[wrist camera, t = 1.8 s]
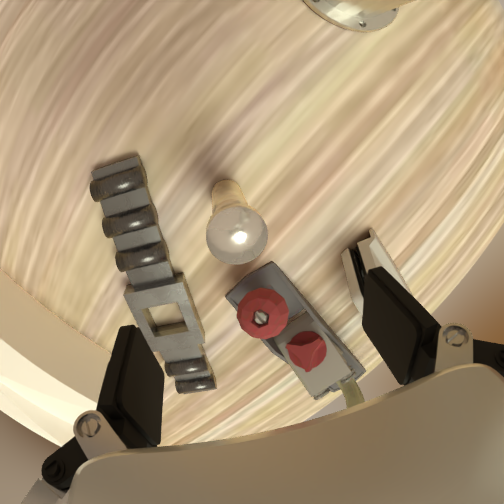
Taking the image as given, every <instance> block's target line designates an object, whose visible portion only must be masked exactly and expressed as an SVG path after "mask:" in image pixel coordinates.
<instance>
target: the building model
mask: <svg viewBox="0 0 504 504" xmlns="http://www.w3.org/2000/svg"><path fill="white" fill-rule="evenodd" d="M111 355H112V354H111V353H110V352H108V351H107V350H105V349H103V348H102V347H100V346H99V345H97V344H96V343H94V342H93V341H91V340H90V339H88V338H87V337H85V336H84V335H82V334H81V333H79V332H78V331H77V330H75V329H74V328H72V327H71V326H69V325H68V324H67V323H65V322H64V321H63V320H61V319H60V318H59V317H57V316H56V315H55V314H53V313H52V312H51V311H49V310H48V309H47V308H46V307H44V306H43V305H42V304H41V303H39V302H38V301H37V300H36V299H34V298H33V297H32V296H31V295H30V294H28V293H27V292H26V291H25V290H24V289H23V288H21V287H20V286H19V285H18V284H17V283H16V282H15V281H13V280H12V279H11V278H10V277H9V276H8V275H7V274H6V273H5V272H4V271H3V270H2V269H1V268H0V410H1V411H3V412H4V413H6V414H7V415H8V416H10V417H11V418H13V419H14V420H16V421H17V422H19V423H21V424H22V425H24V426H25V427H27V428H29V429H30V430H32V431H34V432H35V433H37V434H39V435H40V436H42V437H44V438H46V439H48V440H49V441H51V442H53V443H55V444H57V445H59V446H61V447H62V446H63V445H64V444H65V443H67V442H68V441H69V440H70V439H72V438H73V437H74V436H75V435H74V432H73V425H74V422H75V420H76V419H77V417H78V416H79V415H81V414H82V413H84V412H85V411H89V410H96V407H97V403H98V399H99V395H100V391H101V387H102V383H103V380H104V376H105V372H106V369H107V365H108V362H109V361H110V358H111Z"/></svg>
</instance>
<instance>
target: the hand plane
mask: <svg viewBox="0 0 504 504" xmlns="http://www.w3.org/2000/svg"><path fill="white" fill-rule="evenodd" d="M226 299H227V300H228V301H229V302H230V303H231V304H232V306H233V307H234V308H235V309H236V311H237V319H238V321H239V323H240V326H241V328H242V329H243V330H244V331H245V332H246V333H248V334H249V335H250V336H252V337H255V338H260V339H261V340H262V341H263V343H264V344H265V345H266V346H267V347H268V348H269V349H270V351H271V352H272V353H273V354H275V355H276V356H278V357H279V358H281V359H282V360H284V361H285V362H287V363H288V364H290V366H291V367H292V369H293V370H294V372H295V373H296V375H297V376H298V378H299V379H300V381H301V382H302V384H303V385H304V387H305V388H306V390H307V391H308V392H309V394H310V395H311V397H312V396H313V397H314V399H315V400H318V399H320V398H322V397H324V396H325V395H326V394H328V393H329V391H332V392H336V391H338V390H340V389H341V390H342V392H343V394H344V397H345V399H346V405H347V408H350V407H352V406H355V405H358V404H361V403H363V402H365V401H364V398H363V395H362V393H361V391H360V388H359V387H358V385H357V383H356V380H357V379H358V378H360V377H361V376H362V375H363V374H364V373H365V372H366V370H365V369H364V368H363V366H362V365H361V364H360V363H359V362H358V360H357V359H356V358H355V357H354V356H353V354H352V353H351V352H350V351H349V350H348V348H347V347H346V346H345V345H344V344H343V343H342V341H341V340H340V339H339V338H338V337H337V335H336V334H335V333H334V332H333V331H332V329H331V328H330V327H329V326H328V325H327V324H326V322H325V321H324V320H323V319H322V318H321V316H320V315H319V314H318V313H317V312H316V311H315V309H314V308H313V307H312V306H311V305H310V304H309V302H308V301H307V300H306V299H305V298H304V296H303V295H302V294H301V293H300V292H299V291H298V289H297V288H296V287H295V286H294V285H293V284H292V282H291V281H290V280H289V279H288V278H287V277H286V275H285V274H284V273H283V272H282V271H281V270H280V268H279V267H278V266H277V265H276V264H275V263H274V262H270V263H268V264H266V265H265V266H263V267H261V268H259V269H258V270H256V271H254V272H252V273H251V274H249V275H247V276H245V277H244V278H243V279H242V280H241V281H240V282H239V283H238V284H237V285H236V286H235V287H234V288H233V289H232V290H231V291H230V292H229V293H228V294H227V295H226ZM304 308H305V309H306V310H307V312H306V313H304V314H303V315H301V316H300V317H299V318H297V319H296V320H294V321H293V322H291V323H290V324H288V325H287V320H288V319H290V318H291V317H293V316H294V315H296V314H297V313H299V312H300V311H301V310H303V309H304ZM286 325H287V326H286Z"/></svg>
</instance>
